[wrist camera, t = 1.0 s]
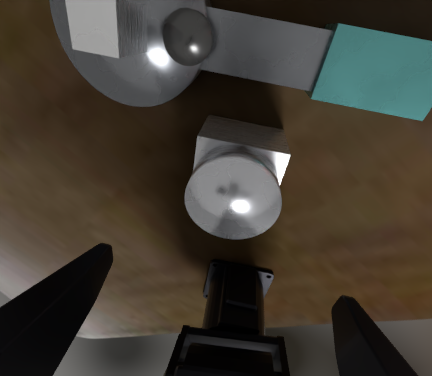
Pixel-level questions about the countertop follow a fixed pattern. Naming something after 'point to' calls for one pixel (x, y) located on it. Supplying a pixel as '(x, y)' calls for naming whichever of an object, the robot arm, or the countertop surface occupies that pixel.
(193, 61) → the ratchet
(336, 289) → the countertop surface
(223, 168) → the cylinder with square end
